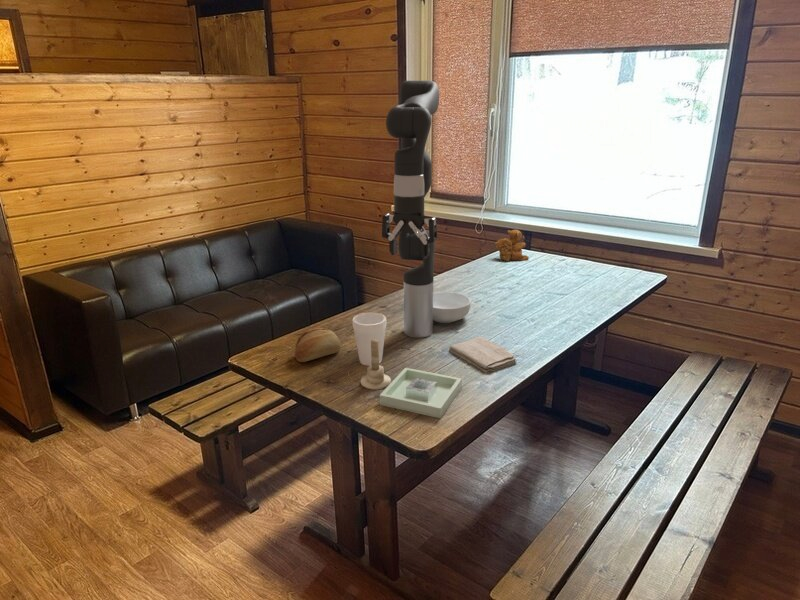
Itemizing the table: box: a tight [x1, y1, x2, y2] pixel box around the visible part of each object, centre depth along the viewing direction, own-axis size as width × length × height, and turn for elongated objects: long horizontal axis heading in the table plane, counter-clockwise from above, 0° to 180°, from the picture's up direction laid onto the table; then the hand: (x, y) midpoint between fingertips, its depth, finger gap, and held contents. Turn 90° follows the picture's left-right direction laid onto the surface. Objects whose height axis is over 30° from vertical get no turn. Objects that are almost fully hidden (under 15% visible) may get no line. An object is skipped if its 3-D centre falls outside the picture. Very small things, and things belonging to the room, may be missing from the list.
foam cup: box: [352, 312, 388, 367], centre depth 164 cm, size 10×9×13 cm
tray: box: [379, 367, 463, 419], centre depth 147 cm, size 16×16×3 cm
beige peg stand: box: [360, 340, 392, 391], centre depth 153 cm, size 8×8×12 cm
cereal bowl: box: [433, 291, 471, 324], centre depth 195 cm, size 17×17×7 cm
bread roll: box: [294, 327, 342, 363], centre depth 169 cm, size 10×15×8 cm, turn 133°
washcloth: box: [448, 336, 517, 373], centre depth 168 cm, size 12×18×3 cm, turn 33°
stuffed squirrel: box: [495, 229, 530, 262], centre depth 259 cm, size 10×14×13 cm
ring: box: [406, 378, 437, 402], centre depth 147 cm, size 6×6×2 cm
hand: (409, 256), depth 148 cm, fingers open, 8 cm apart
